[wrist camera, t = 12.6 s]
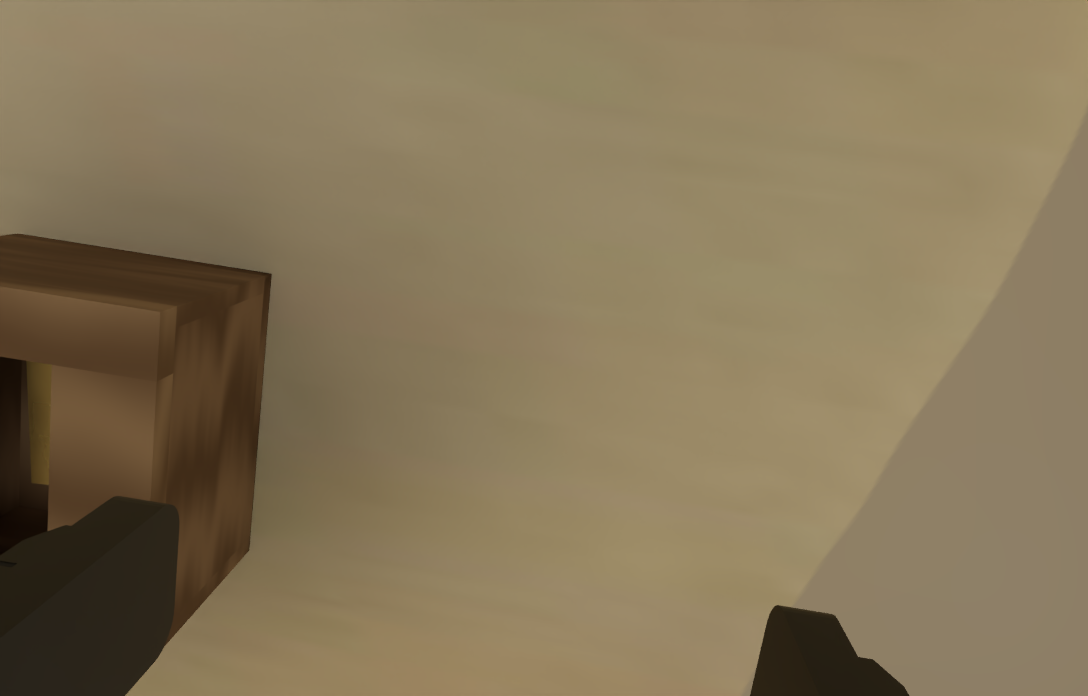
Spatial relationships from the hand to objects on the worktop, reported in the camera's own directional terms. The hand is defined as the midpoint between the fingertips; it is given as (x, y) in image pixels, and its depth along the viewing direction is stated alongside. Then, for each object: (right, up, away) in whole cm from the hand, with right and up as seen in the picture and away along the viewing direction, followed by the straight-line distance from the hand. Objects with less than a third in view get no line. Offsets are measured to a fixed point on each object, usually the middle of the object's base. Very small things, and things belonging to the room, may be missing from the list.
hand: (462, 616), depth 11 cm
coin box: (-18, +1, +30) cm, 35 cm away
